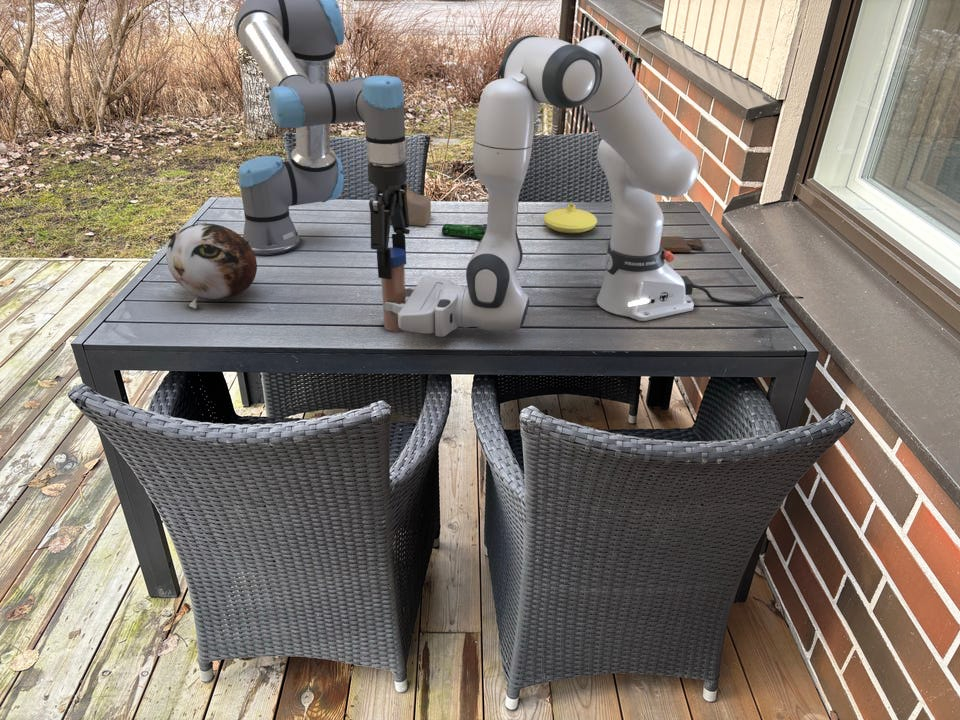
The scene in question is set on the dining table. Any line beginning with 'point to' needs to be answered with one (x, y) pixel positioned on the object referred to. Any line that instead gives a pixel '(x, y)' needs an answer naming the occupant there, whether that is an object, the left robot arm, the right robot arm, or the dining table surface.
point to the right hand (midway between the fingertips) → (390, 298)
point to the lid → (397, 257)
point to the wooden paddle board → (679, 244)
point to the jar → (393, 296)
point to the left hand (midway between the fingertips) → (392, 270)
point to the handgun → (465, 230)
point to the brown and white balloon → (211, 261)
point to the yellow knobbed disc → (570, 220)
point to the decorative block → (417, 208)
